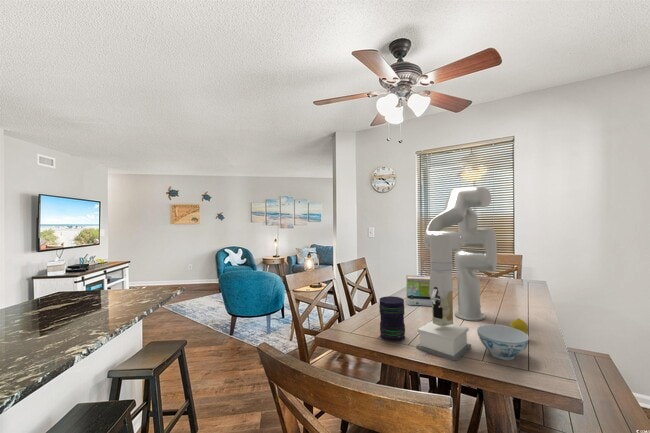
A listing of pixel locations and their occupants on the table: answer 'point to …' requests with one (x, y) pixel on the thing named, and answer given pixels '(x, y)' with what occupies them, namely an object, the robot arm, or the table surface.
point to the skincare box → (445, 311)
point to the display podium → (444, 340)
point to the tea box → (418, 290)
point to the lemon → (519, 325)
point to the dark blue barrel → (392, 319)
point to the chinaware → (503, 340)
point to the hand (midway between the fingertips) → (442, 314)
